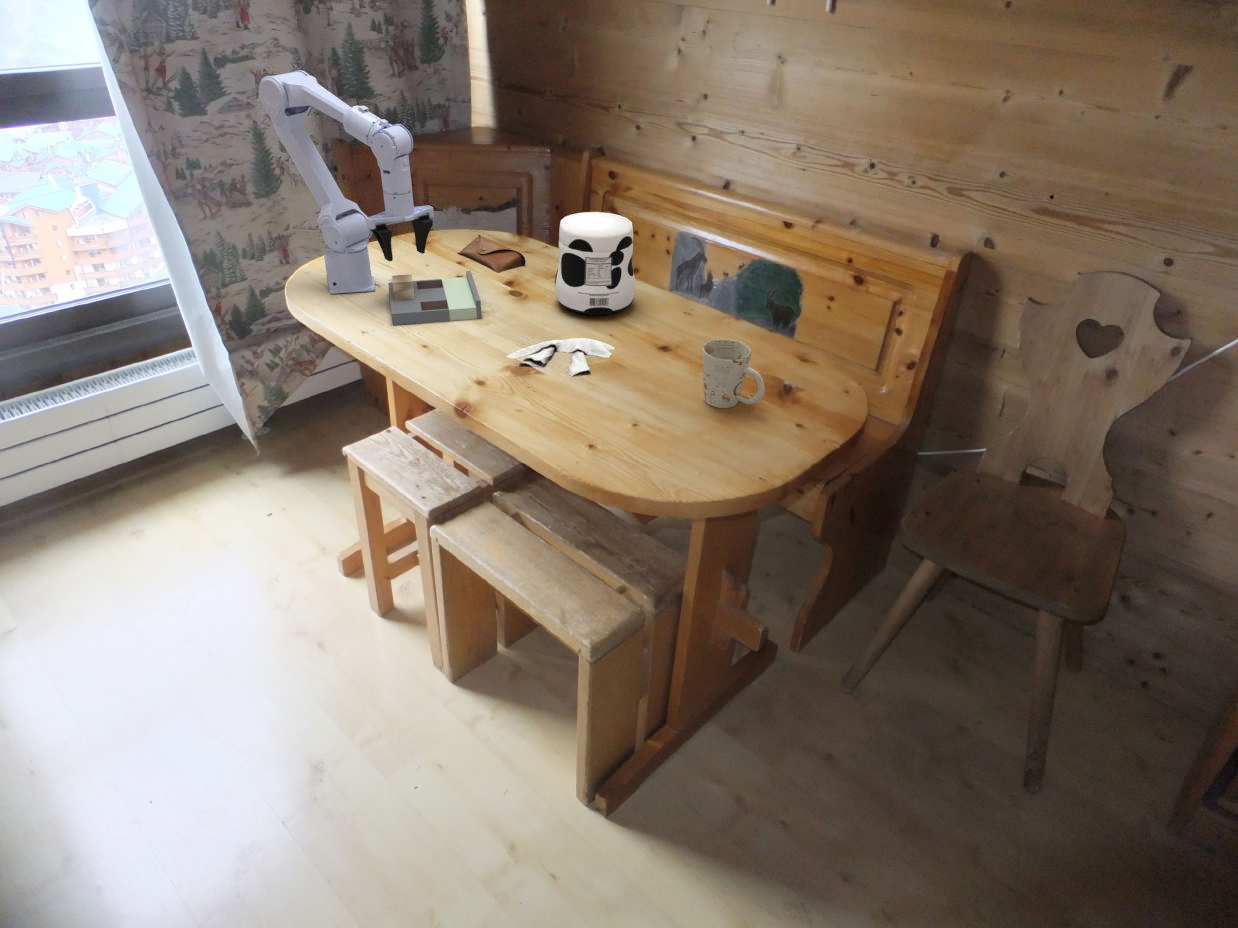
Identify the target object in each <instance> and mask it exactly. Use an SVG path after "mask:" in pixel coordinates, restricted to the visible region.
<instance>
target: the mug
mask: <svg viewBox="0 0 1238 928" xmlns="http://www.w3.org/2000/svg"><path fill="white" fill-rule="evenodd" d="M701 355H702V377H703V379H702V381H703V399H704V402H705V403H706V404H707V405H709V406H711V407H714V408H718V409H729V408H733V407H735V406H736V405H737V404H738V402H741V403H743V404H746V405H751V404H752V405H753V404H755V403H757V402H759V401H761V400H762V398H763V397H764V395H765V392H766V391H765V390H766V389H765V388H766V387H765V386H766V385H765V382H764V380H763V376H761V374H760V372H758V371H757V370H755V369H754V368H752V367H749V365H750V360H751V358H752V349H751V347H749V346H748V345H747V344H746V343H744V342H742V341H739V340H737V339H732V338H717V339H711V340H709V341H707V342H705V343H704V344H703V346H702V354H701ZM746 375H748V376H751V377H752V378H753V379H754V381H755V382H756V385H757V392H756V393H755V395H753V397H751V398H746V397H743V396H741V392H742V389H743V385H744V382H745V378H746Z"/></svg>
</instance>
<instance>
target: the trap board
mask: <svg viewBox="0 0 1238 928" xmlns="http://www.w3.org/2000/svg"><path fill="white" fill-rule="evenodd" d="M465 274H466V275H465V276H466V277H451V278H437V279H424V280H423V279H422V280H420V279H419V280H413V289H414V297H415V300H403V301H395V296H394V288H393V281H391V282H388V283H387V285H388V294H389V303H390V309H391V310H390V311H391V320H392V326H402V325H413V324H414V325H416V324H427V323H428V324H429V323H438V322H439V323H440V322H453V321H466V320H477V319H483V318H482V317H483V316H482V302H481V298H480V294H479V291H478V288H477V286H476V283H475V280H474V277H473V274H472V270H466V271H465Z"/></svg>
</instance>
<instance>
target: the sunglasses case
mask: <svg viewBox="0 0 1238 928" xmlns="http://www.w3.org/2000/svg"><path fill="white" fill-rule="evenodd" d="M477 235H478V236H477V237H475V238H474V239H473V240H472V241H471V242H470V243H468V244H467V245H466V246H465V247H463V248H462V249H461V250H460V251H459V252H456V255H459V256H463V257H465V258H467V259H470V260H471V261H474V262H476V263H478V264H481V265H482V266H484V267H487V268H488V269H490V270H492V271H494V272H496V273H500V274H501V273H503V272H506V271H511V270H513V269H517V268H521V267H525V266H526V258H525V256H524V254H523V253H521V252H520V251H517V250H515V249H511V248H509V247H507V246H505V245H503V244H502V243H499V242H496V241H493V240H491V239H489V238H486V237H484V236H482V235H481V234H477Z"/></svg>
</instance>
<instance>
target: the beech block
mask: <svg viewBox="0 0 1238 928" xmlns="http://www.w3.org/2000/svg"><path fill="white" fill-rule="evenodd" d="M391 279H392V281H391V282H393V288H394V296H395V301H403V300H415V297H414V289H413V281H414V280H413V275H412V274H399V275H398V274H397V275H396V274H395V275H391Z"/></svg>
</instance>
